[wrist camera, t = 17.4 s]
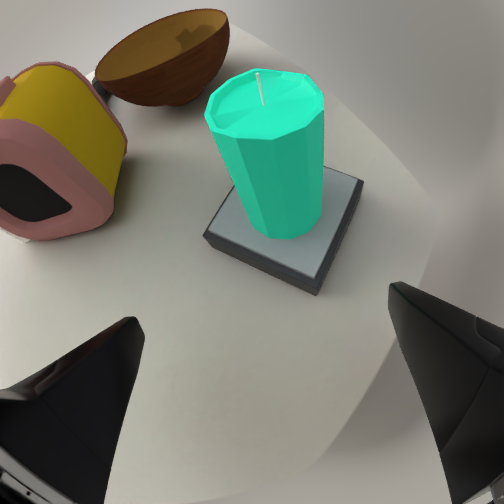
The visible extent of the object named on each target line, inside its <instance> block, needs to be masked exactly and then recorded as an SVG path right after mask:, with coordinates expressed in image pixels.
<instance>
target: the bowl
mask: <svg viewBox="0 0 504 504" xmlns="http://www.w3.org/2000/svg"><path fill="white" fill-rule="evenodd" d="M229 38H230V28H229V22H228V18H227V16H226V14H225V13H224V12H223V11H220V10H217V9H195V10H189V11H185V12H180V13H177V14H173V15H170V16H167V17H164V18H161V19H159V20H157V21H154V22H152V23H150V24H148V25H146V26H144V27H142V28H140V29H138V30H137V31H135V32H133V33H132V34H130V35H128V36H127V37H126V38H124V39H123V40H122V41H120V42H119V43H118V44H116V45H115V46H114V47H113V48H112V49H111V50H110V51H109V52H108V53H107V54H106V55H105V56H104V57H103V58H102V60H101V61H100V62H99V63H98V65H97V67H96V69H95V77H96V79H97V80H98V82H99V83H100V84H101V85H102V86H103V87H104V88H105V89H106V90H107V91H109V92H110V93H112V94H113V95H114V96H116V97H118V98H120V99H122V100H125V101H127V102H130V103H133V104H136V105H141V106H150V107H157V106H164V105H168V106H178V105H182V104H185V103H187V102H189V101H191V100H193V99H194V98H196V97H197V96H198V95H199V94H200V93H201V92H202V90H203V88H204V87H205V86H206V85H207V84H208V83H209V82H210V81H211V80H212V79H213V78H214V77H215V76H216V74H217V73H218V71H219V70H220V68H221V66H222V64H223V62H224V59H225V56H226V53H227V50H228V45H229Z"/></svg>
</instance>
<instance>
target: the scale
mask: <svg viewBox="0 0 504 504" xmlns="http://www.w3.org/2000/svg"><path fill="white" fill-rule="evenodd" d="M363 184H364V181H363V180H360V179H357V178H355V177H352V176H350V175H347V174H344V173H342V172H339V171H336V170H333V169H331V168H328V167H325V166H323V188H322V208H321V216H320V218H319V219H318V220H317V222H316V223H315V225H314V226H313V227H312V229H311V230H310V231H309V232H307V233H304V234H302V235H300V236H298V237H295V238H293V239H291V240H289V239H273V238H268V237H267V236H265V235H264V234H262V233H261V232H259V231H257V230H256V229H254V228H253V226H252V224H251V222H250V220H249V218H248V215H247V213H246V211H245V209H244V206H243V204H242V202H241V199H240V197H239V195H238V192H237V190H236V188H235V185H234V186H233V187H232V189H231V190H230V192H229V194H228V195H227V197H226V198H225V200H224V201H223V203H222V205H221V206H220V208H219V209H218V211H217V213H216V214H215V216H214V217H213V219H212V221H211V222H210V224H209V225H208V227H207V229H206V230H205V232H204V234H203V237H204V238H205V239H206V240H207V242H208V243H209V244H210V245H211V246H212V247H213V248H215V249H217V250H220V251H222V252H224V253H226V254H228V255H230V256H232V257H234V258H236V259H238V260H240V261H243V262H245V263H247V264H249V265H251V266H253V267H255V268H257V269H259V270H262V271H264V272H266V273H268V274H270V275H272V276H274V277H276V278H279V279H281V280H283V281H285V282H287V283H289V284H291V285H293V286H296V287H298V288H300V289H302V290H304V291H306V292H309V293H311V294H313V295H315V296H316V295H317V294H318V292H319V290H320V288H321V286H322V283H323V281H324V279H325V277H326V275H327V273H328V271H329V268H330V266H331V264H332V262H333V260H334V258H335V255H336V253H337V251H338V249H339V246H340V244H341V242H342V239H343V237H344V235H345V233H346V230H347V228H348V225H349V223H350V221H351V218H352V216H353V213H354V211H355V209H356V206H357V204H358V201H359V199H360V196H361V192H362V188H363Z"/></svg>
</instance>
